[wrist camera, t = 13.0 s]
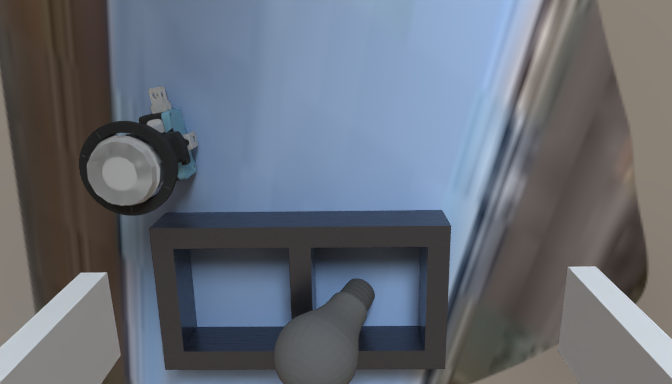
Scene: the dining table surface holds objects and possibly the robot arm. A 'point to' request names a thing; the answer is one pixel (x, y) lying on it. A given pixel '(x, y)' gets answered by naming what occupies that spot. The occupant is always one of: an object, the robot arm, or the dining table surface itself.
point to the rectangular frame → (298, 283)
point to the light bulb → (324, 339)
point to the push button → (138, 159)
